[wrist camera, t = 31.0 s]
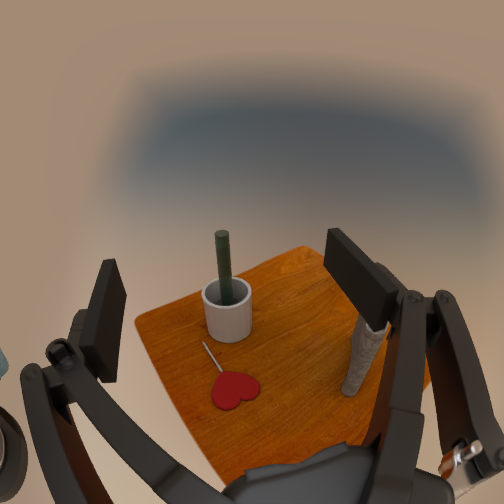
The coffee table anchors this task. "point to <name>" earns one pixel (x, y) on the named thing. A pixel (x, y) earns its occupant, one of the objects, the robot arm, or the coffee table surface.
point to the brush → (224, 268)
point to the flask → (361, 355)
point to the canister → (228, 311)
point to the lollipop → (232, 388)
